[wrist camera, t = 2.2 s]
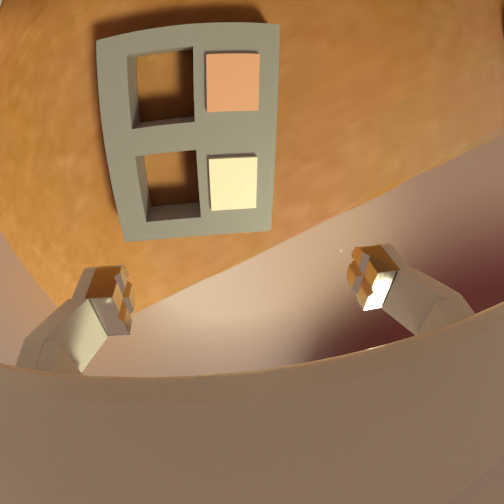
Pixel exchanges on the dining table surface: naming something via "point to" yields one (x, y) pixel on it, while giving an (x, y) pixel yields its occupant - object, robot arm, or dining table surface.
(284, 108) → the dining table surface
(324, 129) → the dining table surface
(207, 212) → the socket plate
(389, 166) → the dining table surface
